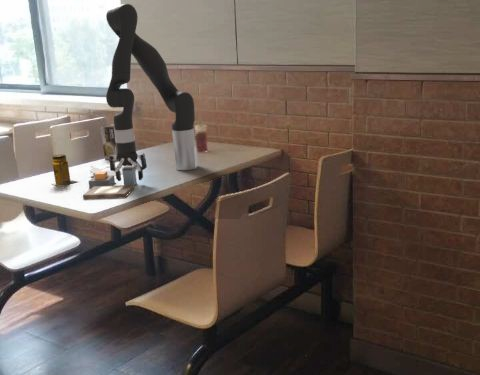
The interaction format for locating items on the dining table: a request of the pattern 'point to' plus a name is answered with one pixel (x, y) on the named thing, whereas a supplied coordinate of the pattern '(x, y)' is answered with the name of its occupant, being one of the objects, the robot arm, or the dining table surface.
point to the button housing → (102, 181)
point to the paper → (107, 170)
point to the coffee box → (108, 141)
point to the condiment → (61, 171)
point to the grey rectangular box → (129, 175)
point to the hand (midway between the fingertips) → (130, 180)
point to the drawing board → (108, 191)
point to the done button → (101, 175)
